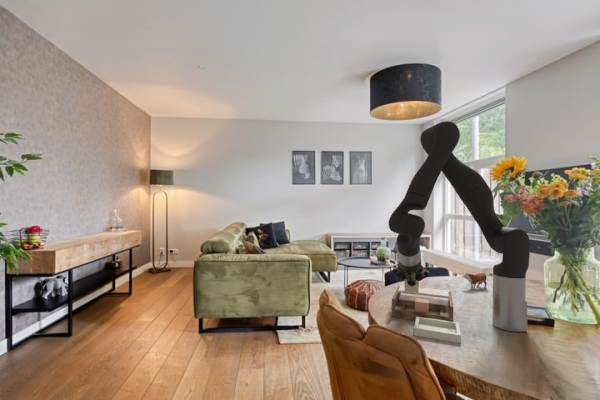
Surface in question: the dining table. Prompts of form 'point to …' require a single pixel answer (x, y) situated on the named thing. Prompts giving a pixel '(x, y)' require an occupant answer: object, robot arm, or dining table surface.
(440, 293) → the cover
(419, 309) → the terracotta block
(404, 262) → the robot arm
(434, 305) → the brown wooden box
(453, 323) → the sage tray
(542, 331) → the dining table surface
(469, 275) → the bull figurine
